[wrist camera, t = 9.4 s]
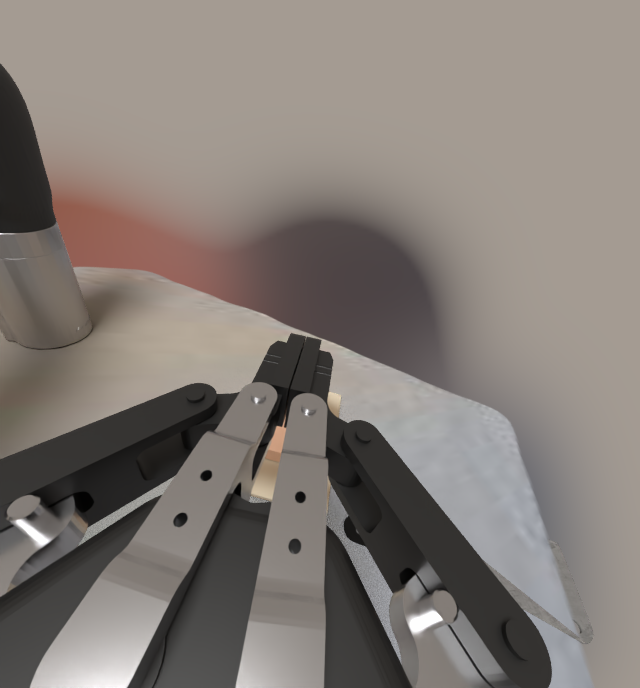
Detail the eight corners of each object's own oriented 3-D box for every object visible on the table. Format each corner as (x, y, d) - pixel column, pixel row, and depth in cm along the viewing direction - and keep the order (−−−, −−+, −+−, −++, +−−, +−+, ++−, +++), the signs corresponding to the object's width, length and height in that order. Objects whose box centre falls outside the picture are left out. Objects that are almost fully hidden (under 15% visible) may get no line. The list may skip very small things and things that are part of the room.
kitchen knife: (353, 463, 38) (339, 543, 30) (354, 461, 37) (341, 542, 29) (556, 543, 36) (601, 652, 28) (559, 542, 36) (605, 651, 27)
